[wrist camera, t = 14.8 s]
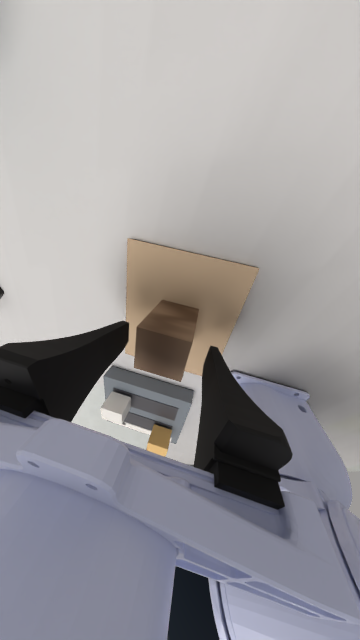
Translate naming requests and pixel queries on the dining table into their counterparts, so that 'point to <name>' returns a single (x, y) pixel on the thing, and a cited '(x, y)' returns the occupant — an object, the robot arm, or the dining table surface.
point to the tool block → (165, 339)
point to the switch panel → (150, 401)
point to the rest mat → (186, 293)
